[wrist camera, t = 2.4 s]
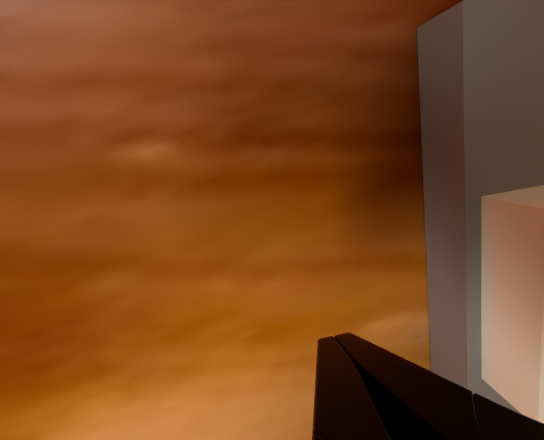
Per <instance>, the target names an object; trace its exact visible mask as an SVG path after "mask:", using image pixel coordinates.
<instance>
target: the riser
mask: <svg viewBox="0 0 544 440" xmlns="http://www.w3.org/2000/svg"><path fill="white" fill-rule="evenodd" d="M417 46H418V70H419V94H420V118H421V142H422V166H423V190H424V214H425V238H426V262H427V286H428V310H429V334H430V358H431V372H433V373H435V374H437V375H439V376H441V377H444V378H446V379H448V380H450V381H452V382H454V383H456V384H458V385H460V386H462V387H464V388H466V389H469V390H471V391H472V392H473V394H474V393H477V394H479V395H481V396H483V397H486V398H488V399H490V400H492V401H494V402H496V403H498V404H500V405H503V406H505V407H507V408H509V409H511V410H514V411H516V412H518V413H520V412H519V411H518V410H517V409H516V408H514V407H513V406H512V405H511V404H510V403H509V402H508V401H507V400H505V399H504V398H503V397H502V396H501V395H500V394H499V393H497V392H496V391H495V390H494V389H493V388H492V387H491V386H490V385H488V384H487V383H486V382H485V381H484V380H483V379H482V358H481V196H487V195H492V194H497V193H503V192H508V191H514V190H519V189H525V188H530V187H536V186H541V185H544V0H464V1H461V2H459V3H458V4H456V5H454V6H453V7H451V8H449V9H448V10H446V11H444V12H443V13H441V14H439V15H438V16H436V17H434V18H433V19H431V20H429V21H428V22H426V23H424V24H423V25H421V26H419V27H418V28H417ZM520 414H521V413H520Z"/></svg>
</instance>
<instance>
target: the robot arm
mask: <svg viewBox="0 0 544 440" xmlns="http://www.w3.org/2000/svg"><path fill="white" fill-rule="evenodd" d="M312 434H313V435H312V440H544V423H541V422H539V421H537V420H534V419H532V418H529V417H527V416H525V415H522V414H520V413H518V412H516V411H514V410H511V409H509V408H507V407H505V406H503V405H500V404H498V403H496V402H494V401H492V400H490V399H488V398H486V397H483V396H481V395H479V394H477V393H474V394H473V392H472V391H471V390H469V389H466V388H464V387H462V386H460V385H458V384H456V383H454V382H452V381H450V380H448V379H446V378H444V377H441V376H439V375H437V374H435V373H433V372H431V371H429V370H427V369H425V368H423V367H421V366H419V365H416V364H414V363H412V362H410V361H408V360H406V359H404V358H402V357H400V356H398V355H396V354H393V353H391V352H389V351H387V350H385V349H383V348H381V347H379V346H377V345H375V344H373V343H371V342H368V341H366V340H364V339H362V338H360V337H358V336H356V335H354V334H352V333H344V334H339V335H336V336H335V337H333V336H330V337H326V338H321V339H319V340H318V346H317V363H316V380H315V398H314V415H313V433H312Z"/></svg>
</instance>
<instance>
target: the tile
mask: <svg viewBox="0 0 544 440" xmlns="http://www.w3.org/2000/svg"><path fill="white" fill-rule="evenodd" d="M481 358H482V379H483V380H484V381H485V382H486V383H487V384H488V385H490V386H491V387H492V388H493V389H494V390H495V391H496V392H497V393H499V394H500V395H501V396H502V397H503V398H504V399H505V400H507V401H508V402H509V403H510V404H511V405H512V406H513V407H514V408H516V409H517V410H518V411H519V412H520V413H521V414H522V415H525V416H527V417H529V418H532V419H534V420H537V421H539V422H541V423H544V185H541V186H536V187H530V188H525V189H519V190H514V191H508V192H503V193H497V194H492V195H487V196H481Z"/></svg>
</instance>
